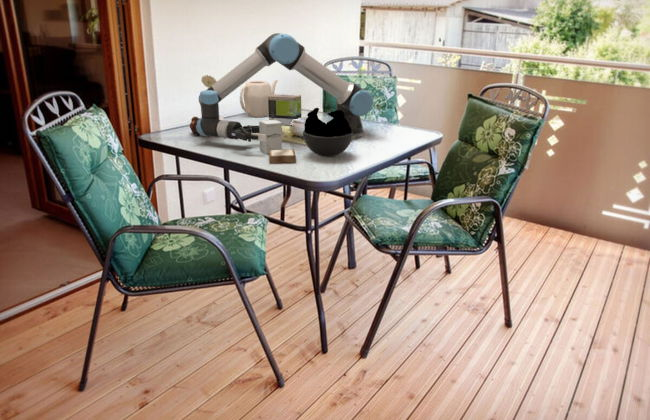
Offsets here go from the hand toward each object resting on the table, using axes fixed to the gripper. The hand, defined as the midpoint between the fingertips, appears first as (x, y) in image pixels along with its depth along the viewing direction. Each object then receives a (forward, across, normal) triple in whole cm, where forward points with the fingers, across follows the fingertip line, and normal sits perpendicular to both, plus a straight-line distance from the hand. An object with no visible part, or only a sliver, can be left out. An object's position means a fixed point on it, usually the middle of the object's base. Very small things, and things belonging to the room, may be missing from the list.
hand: (274, 134), depth 205 cm
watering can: (-46, -69, -8) cm, 84 cm away
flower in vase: (-55, -35, -8) cm, 66 cm away
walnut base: (+9, +10, -7) cm, 15 cm away
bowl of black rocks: (+22, -3, -8) cm, 24 cm away
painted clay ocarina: (-47, -14, -8) cm, 49 cm away
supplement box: (-2, 0, -8) cm, 8 cm away
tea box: (-23, -55, -8) cm, 60 cm away
